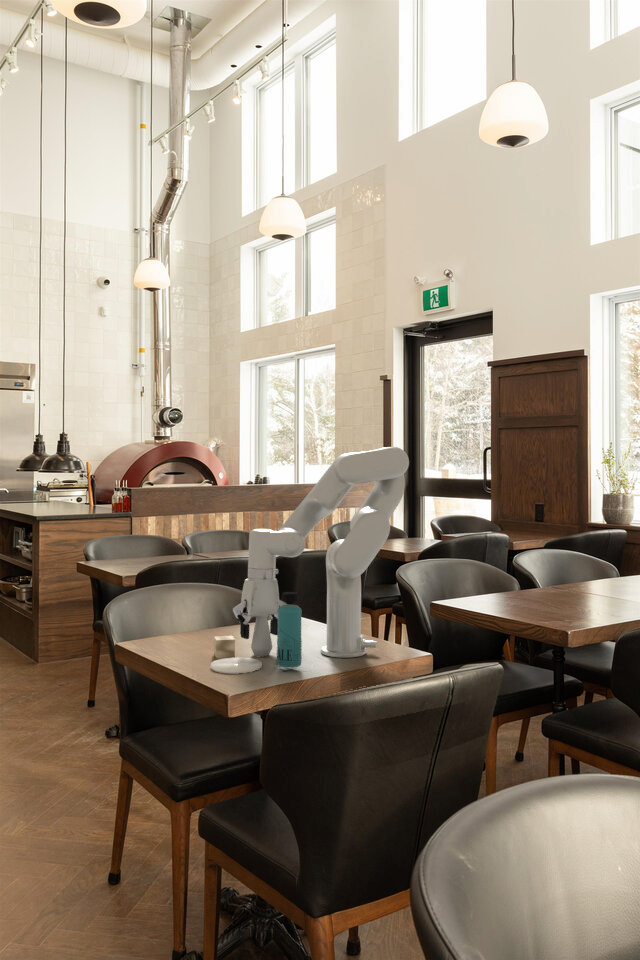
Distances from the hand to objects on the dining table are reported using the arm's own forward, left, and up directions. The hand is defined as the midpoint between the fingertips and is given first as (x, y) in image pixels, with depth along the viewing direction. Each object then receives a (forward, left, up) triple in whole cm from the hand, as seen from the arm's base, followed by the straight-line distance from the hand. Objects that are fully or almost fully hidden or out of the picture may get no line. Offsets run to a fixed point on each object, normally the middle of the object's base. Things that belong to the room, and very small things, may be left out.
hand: (259, 636), depth 222 cm
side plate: (+3, +14, -5) cm, 15 cm away
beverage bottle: (-11, +15, -5) cm, 19 cm away
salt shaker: (-1, 0, -5) cm, 5 cm away
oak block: (+9, +2, -5) cm, 11 cm away
